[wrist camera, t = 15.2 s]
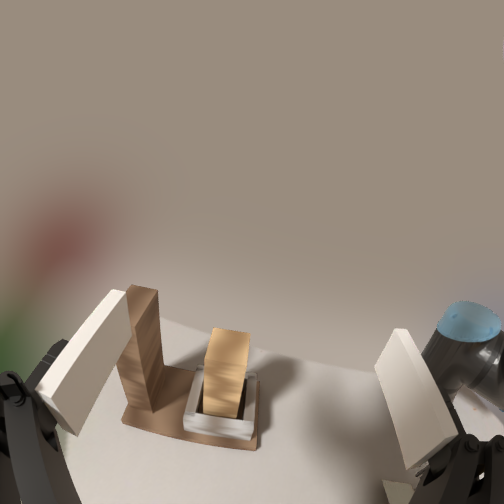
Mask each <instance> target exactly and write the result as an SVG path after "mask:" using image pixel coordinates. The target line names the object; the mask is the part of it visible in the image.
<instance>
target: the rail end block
mask: <svg viewBox="0 0 504 504" xmlns="http://www.w3.org/2000/svg"><path fill="white" fill-rule="evenodd" d="M249 342H250V333H244V332H238V331H232V330H225V329H220V328H213V331H212V334H211V338H210V341H209V345H208V348H207V352H206V355H205V359H204V392H203V414H204V415H209V416H215V417H222V418H228V419H236V417H237V412H238V407H239V402H240V397H241V392H242V387H243V382H244V377H245V372H246V367H247V359H248V351H249Z"/></svg>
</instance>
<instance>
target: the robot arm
mask: <svg viewBox="0 0 504 504" xmlns="http://www.w3.org/2000/svg"><path fill="white" fill-rule="evenodd" d="M503 59H504V42H503ZM131 336H132V332H131V326H130V319H129V313H128V305H127V298H126V292H123V291H119V290H114V289H112V290H111V291H110V293H109V294H108V295H107V296H106V297H105V298H104V299H103V300H102V302H101V303H100V304H99V305H98V306H97V308H96V309H95V310H94V311H93V312H92V314H91V315H90V316H89V318H88V319H87V320H86V321H85V322H84V323H83V325H82V326H81V327H80V328H79V330H78V331H77V332H76V334H75V335H74V336H73V337H72V339H71V340H70V341H67V340H64V339H62V340H60V341H59V342H57V343H56V344H54V345H53V346H52V347H51V348H50V350H49V351H48V352H47V355H45V356H44V357H43V359H42V361H40V363H39V364H38V365H37V367H36V368H35V369H34V371H33V372H32V374H31V375H30V376H29V378H28V379H27V380H26V382H25V383H23V381H22V379H21V378H20V376H19V375H18V374H17V373H15V372H13V371H5V372H3V373H1V374H0V504H21V501H22V504H82V503H81V501H80V499H79V496H78V494H77V492H76V489H75V487H74V484H73V482H72V479H71V476H70V473H69V471H68V468H67V465H66V462H65V459H64V456H63V452H62V449H61V446H60V442H59V438H58V435H57V431H56V429H55V426H56V424H57V422H58V424H59V425H60V426H61V428H62V429H63V430H65V431H67V432H69V433H71V434H73V435H75V436H77V437H78V435H79V433H80V431H81V429H82V427H83V425H84V423H85V421H86V419H87V417H88V415H89V413H90V411H91V409H92V407H93V405H94V403H95V401H96V399H97V397H98V396H99V394H100V392H101V390H102V388H103V386H104V384H105V382H106V381H107V379H108V377H109V375H110V373H111V372H112V370H113V368H114V366H115V364H116V363H117V361H118V359H119V357H120V355H121V354H122V352H123V350H124V348H125V347H126V345H127V343H128V342H129V340H130V338H131ZM374 367H375V370H376V373H377V376H378V379H379V382H380V384H381V387H382V390H383V393H384V396H385V399H386V402H387V405H388V408H389V411H390V415H391V418H392V421H393V424H394V428H395V431H396V434H397V438H398V441H399V445H400V448H401V452H402V456H403V459H404V463H405V467H406V470H408V469H412V468H416V467H419V466H421V465H422V464H423V463H425V462H426V461H427V460H428V462H429V465H428V466H426V467H425V468H424V469H422V470H421V471H420V472H418V473H417V474H416V477H418V476H419V475H421V474H422V473H423V472H424V473H423V475H422V476H421V477H420V482H419V484H418V486H417V488H416V490H415V492H414V494H413V496H412V498H411V500H410V502H409V504H504V437H503V436H502V435H496V436H495V437H493V438H492V439H491V440H490V441H479V440H478V439H477V437H475V436H474V435H472V434H466V432H465V430H464V428H463V426H462V423H461V421H460V419H459V417H458V414H457V412H456V410H455V409H454V406H453V404H452V402H453V400H454V398H455V396H456V393H457V391H458V390H459V389H460V387H461V386H462V385H463V384H464V385H465V386H467V387H468V388H470V389H472V390H473V391H474V392H476V393H477V394H479V395H480V396H482V397H483V398H485V399H486V400H488V401H489V402H491V403H492V404H494V405H495V406H497V407H498V408H499V409H500V410H501V411H502V412H504V332H503V331H502V330H501V321H500V319H499V318H498V316H497V315H496V314H494V313H493V312H492V311H491V310H490V309H488V308H487V307H484V306H482V305H480V304H477V303H474V302H469V301H459V302H455V303H453V304H451V305H450V306H449V307H448V309H447V310H446V312H445V313H444V315H443V317H442V319H441V320H440V321H439V322H438V324H437V328H436V330H435V332H434V334H433V335H432V337H431V339H430V341H429V342H428V344H427V345H426V348H425V349H424V350H423V352H422V354H420V352H419V351H418V349H417V347H416V345H415V343H414V341H413V340H412V338H411V336H410V334H409V333H408V331H407V329H394V331H393V333H392V335H391V337H390V339H389V341H388V343H387V345H386V347H385V349H384V350H383V352H382V354H381V356H380V357H379V359H378V361H377V363H376V364H375V366H374ZM483 472H484V478H482V479H481V480H480V479H479V475H481V474H482V473H483ZM20 498H21V501H20Z"/></svg>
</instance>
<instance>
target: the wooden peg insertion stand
mask: <svg viewBox="0 0 504 504" xmlns="http://www.w3.org/2000/svg"><path fill="white" fill-rule="evenodd" d="M126 298H127V305H128V313H129V319H130V326H131V332H132V336H131V338H130V340H129V342H128V343H127V345H126V347H125V348H124V350H123V352H122V354H121V355H120V357H119V359H118V361H117V363H116V366H117V369H118V372H119V376H120V379H121V382H122V385H123V388H124V391H125V394H126V397H127V400H128V405H127V407H126V409H125V412H124V414H123V416H122V419H121V421H122V423H123V424H126V425H129V426H133V427H136V428H139V429H142V430H146V431H149V432H153V433H156V434H160V435H164V436H168V437H172V438H176V439H181V440H185V441H190V442H195V443H200V444H206V445H211V446H218V447H224V448H232V449H240V450H250V451H255V450H256V445H257V427H258V407H259V387H260V382H258V381H257V373H251V372H245V377H244V382H243V387H242V392H241V397H240V402H239V407H238V412H237V417H236V419H228V418H222V417H215V416H209V415H204V414H203V392H204V365H200V364H198V365H197V369H196V372H194V371H189V370H184V369H179V368H174V367H170V366H165V365H164V362H163V353H162V343H161V332H160V319H159V303H158V290H156V289H150V288H145V287H141V286H136V285H131V286H130V287H129V288H128V290H127V291H126Z"/></svg>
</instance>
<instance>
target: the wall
mask: <svg viewBox="0 0 504 504" xmlns="http://www.w3.org/2000/svg"><path fill="white" fill-rule="evenodd" d="M381 480H382V483H383V486H384V488H385V492H386V495H387V498H388V501H389V504H409V502H410V500H411V498H412V496H413V494H414V492H415V490H413V488H412V486H411V484H409V483H401V482H393V481H387V480H383V479H381Z"/></svg>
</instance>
